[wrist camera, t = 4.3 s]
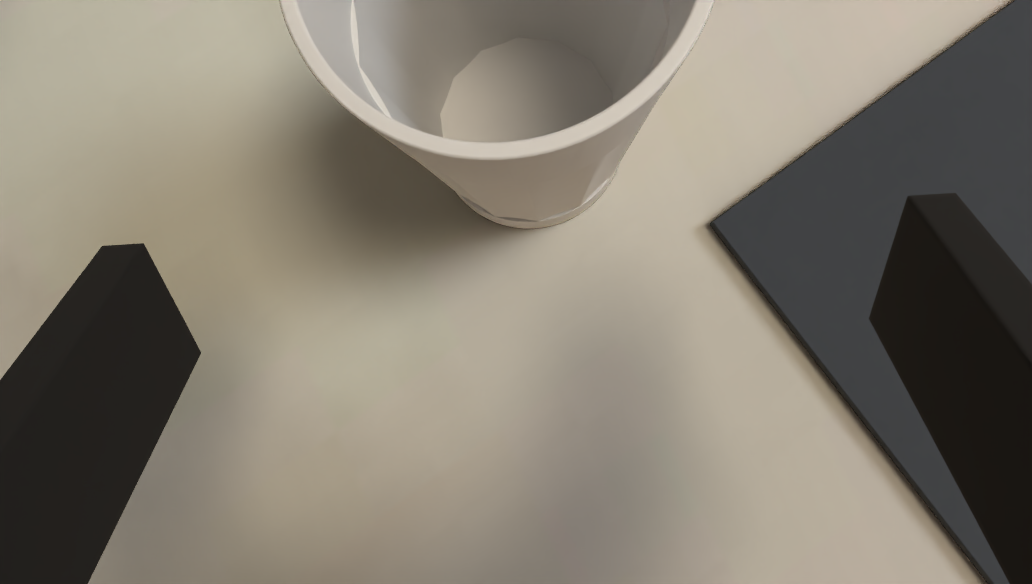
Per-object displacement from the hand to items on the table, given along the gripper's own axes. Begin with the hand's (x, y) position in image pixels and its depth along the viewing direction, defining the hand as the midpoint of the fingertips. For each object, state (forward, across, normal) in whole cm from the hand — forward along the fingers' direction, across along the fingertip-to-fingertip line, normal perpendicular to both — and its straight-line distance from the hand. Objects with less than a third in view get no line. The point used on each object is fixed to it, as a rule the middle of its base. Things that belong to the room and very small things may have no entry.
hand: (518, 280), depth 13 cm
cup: (+12, 0, -4) cm, 13 cm away
